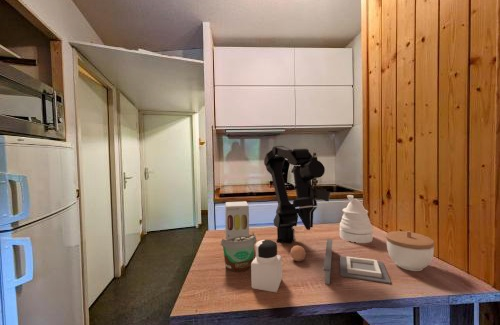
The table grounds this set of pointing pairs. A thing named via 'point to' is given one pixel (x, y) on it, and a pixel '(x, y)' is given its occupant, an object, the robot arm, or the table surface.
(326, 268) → the gray fence
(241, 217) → the supplement box
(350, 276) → the mat
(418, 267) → the lidded bowl
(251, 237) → the food container
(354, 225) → the honey pot
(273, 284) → the medicine bottle
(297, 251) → the ball
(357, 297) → the table surface
